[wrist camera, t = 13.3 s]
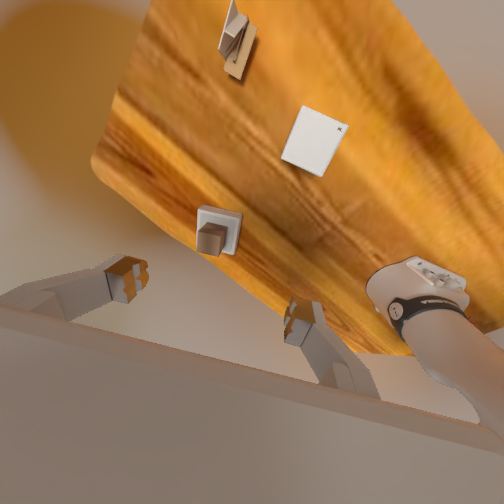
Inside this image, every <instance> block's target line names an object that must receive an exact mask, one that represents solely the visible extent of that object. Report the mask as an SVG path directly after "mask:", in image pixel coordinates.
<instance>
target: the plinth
mask: <svg viewBox="0 0 504 504" xmlns="http://www.w3.org/2000/svg"><path fill="white" fill-rule="evenodd" d="M242 215H243V213H238V212H234V211H230V210H225V209H221V208H217V207H212V206H208V205H203V206H201V207H200V208H199V209H198V218H197V234H198V230H199V229H201V228H202V227H203V226H204V225H205V224H206V223H207V222H210V223H215V224H219V225H223V226H227V227H228V229H227V237H226V244H225V246H224V248H223V250H222V252H223V253H227V254H231V255H234V253H235V251H236V249H237V244H238V238H239V232H240V227H241V221H242ZM196 246H197V238H196Z"/></svg>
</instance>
